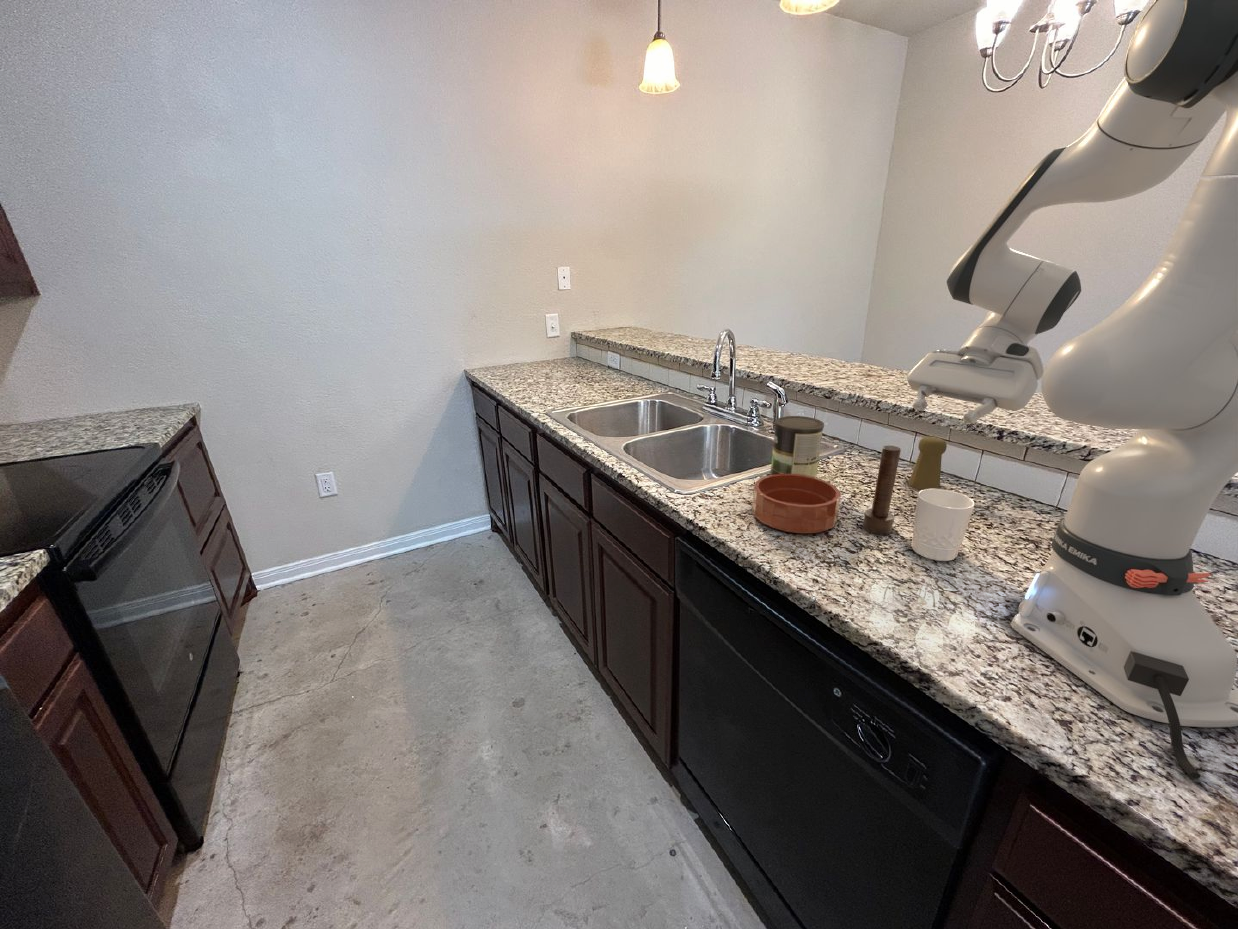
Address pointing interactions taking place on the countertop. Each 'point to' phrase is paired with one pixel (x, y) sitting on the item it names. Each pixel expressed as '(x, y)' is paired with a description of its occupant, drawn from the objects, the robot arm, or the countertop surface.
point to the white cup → (940, 523)
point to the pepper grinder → (928, 464)
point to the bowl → (796, 503)
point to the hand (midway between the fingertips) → (941, 414)
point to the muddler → (883, 494)
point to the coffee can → (796, 445)
